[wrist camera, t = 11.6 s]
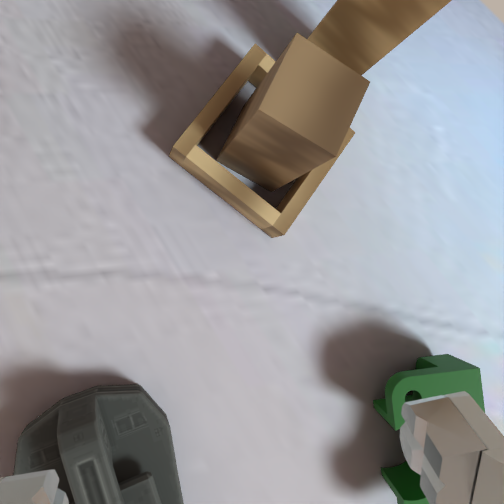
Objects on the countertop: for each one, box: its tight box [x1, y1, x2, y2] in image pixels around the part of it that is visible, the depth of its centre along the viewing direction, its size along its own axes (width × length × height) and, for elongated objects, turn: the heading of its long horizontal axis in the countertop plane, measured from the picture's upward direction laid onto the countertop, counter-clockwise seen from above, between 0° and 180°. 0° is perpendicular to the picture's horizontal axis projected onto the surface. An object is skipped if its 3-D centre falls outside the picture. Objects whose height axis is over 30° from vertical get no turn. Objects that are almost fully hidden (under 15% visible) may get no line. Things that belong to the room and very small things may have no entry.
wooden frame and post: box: [169, 0, 451, 238], centre depth 23 cm, size 9×15×19 cm, turn 144°
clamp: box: [373, 354, 485, 504], centre depth 31 cm, size 12×6×9 cm, turn 1°
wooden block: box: [216, 33, 370, 192], centre depth 27 cm, size 4×4×10 cm
